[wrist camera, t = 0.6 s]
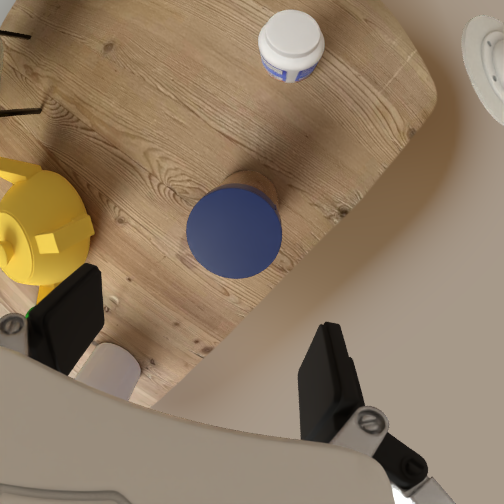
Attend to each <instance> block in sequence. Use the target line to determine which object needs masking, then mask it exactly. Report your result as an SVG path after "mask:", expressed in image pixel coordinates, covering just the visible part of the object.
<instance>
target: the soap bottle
mask: <svg viewBox="0 0 504 504" xmlns="http://www.w3.org/2000/svg"><path fill="white" fill-rule="evenodd" d="M140 373H141V369H140V366H139V363H138V362H137V361H136V359H135V358H134V357H133V356H132V355H131V354H130V353H129V352H128V351H127V350H125V349H123V348H122V347H120V346H118V345H115V344H112V343H101V344H99V345H97V346H96V348H95V349H94V351H93V352H92V354H91V355H90V356H89V358H88V359H87V361H86V362H85V364H84V365H83V367H82V368H81V369H80V371H79V372H78V374H77V375H76V377H75V378H74V379H75V380H77V381H79V382H82V383H84V384H86V385H88V386H91V387H93V388H96V389H98V390H100V391H103V392H105V393H108V394H110V395H113V396H116V397H118V398H121V399H124V400H126V401H128V400H129V398H130V396H131V394H132V392H133V390H134V388H135V386H136V383H137V381H138V379H139V377H140Z"/></svg>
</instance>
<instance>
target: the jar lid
mask: <svg viewBox="0 0 504 504" xmlns="http://www.w3.org/2000/svg"><path fill="white" fill-rule="evenodd" d="M186 234H187V241H188V245H189V248H190V250H191V252H192V254H193V255H194V257H195V258H196V260H197V261H198V262H199V263H200V264H201V265H202V266H203V267H204V268H206V269H207V270H208V271H210V272H212V273H214V274H216V275H218V276H222V277H225V278H232V279H240V278H247V277H251V276H254V275H256V274H258V273H260V272H262V271H263V270H265V269H266V268H267V267H268V266H269V265H270V264H271V263H272V262H273V261H274V259H275V258H276V256H277V254H278V252H279V249H280V246H281V241H282V227H281V219H280V215H279V212H278V210H277V208H276V204H274V203H273V202H272V200H271V199H270V198H269V197H268V196H267V195H266V194H265V193H263V192H262V191H260V190H259V189H257V188H255V187H252V186H249V185H246V184H240V183H232V184H225V185H221V186H219V187H216V188H214V189H213V190H211V191H210V192H208V193H207V194H206V195H205V196H204V197H203V198H202V199H200V200H199V201H198V203H197V204H196V205H195V206H194V208H193V209H192V211H191V213H190V215H189V218H188V221H187V228H186Z"/></svg>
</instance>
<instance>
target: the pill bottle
mask: <svg viewBox="0 0 504 504" xmlns="http://www.w3.org/2000/svg"><path fill="white" fill-rule="evenodd" d="M258 45H259V51H260V55H261V59H262V63H263V66H264V68H265V70H266V72H267V73H268V74H269V75H270V76H272V77H273V78H275V79H276V80H279V81H282V82H286V83H295V82H299V81H302V80H304V79H306V78H307V77H308V76H309V75H310V74H311V73H312V72H313V70H314V68H315V67H316V65H317V64H318V62H319V60H320V58H321V57H322V54H323V52H324V47H325V42H324V37H323V34H322V32H321V31H320V28H319V25H318V24H317V22H316V21H315V19H313V18H312V17H311V16H310V15H308V14H307V13H305V12H302V11H298V10H283V11H280V12H278V13H276V14H274V15H273V16H272V17H271V18H270V19H269V20H268V22H267V23H266V24H265V25H264V26H263V28H262V29H261V31H260V34H259V38H258Z"/></svg>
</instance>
